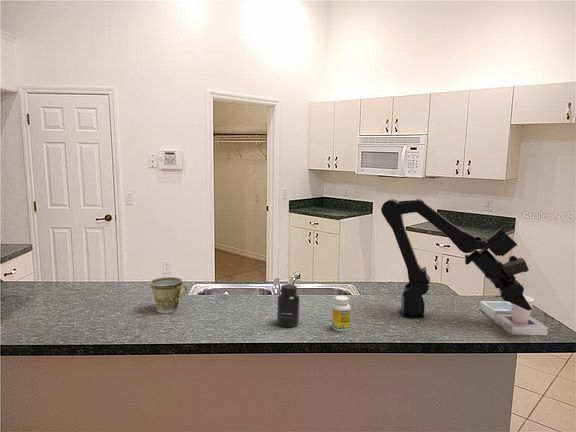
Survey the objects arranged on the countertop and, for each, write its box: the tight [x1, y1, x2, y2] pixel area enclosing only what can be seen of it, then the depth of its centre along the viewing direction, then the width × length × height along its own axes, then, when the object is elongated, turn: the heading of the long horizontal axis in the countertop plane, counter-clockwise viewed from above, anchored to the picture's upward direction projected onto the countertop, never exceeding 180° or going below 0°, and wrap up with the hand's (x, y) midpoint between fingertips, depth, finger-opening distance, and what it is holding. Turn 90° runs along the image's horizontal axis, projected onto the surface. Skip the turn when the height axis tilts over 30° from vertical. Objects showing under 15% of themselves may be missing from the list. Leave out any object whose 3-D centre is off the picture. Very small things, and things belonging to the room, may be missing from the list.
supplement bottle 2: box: [331, 295, 352, 332], centre depth 123 cm, size 5×5×10 cm
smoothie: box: [511, 283, 535, 325], centre depth 125 cm, size 6×6×14 cm
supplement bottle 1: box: [276, 283, 301, 329], centre depth 126 cm, size 7×7×12 cm
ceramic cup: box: [150, 276, 188, 315], centre depth 136 cm, size 13×10×10 cm
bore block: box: [493, 314, 549, 336], centre depth 126 cm, size 10×10×2 cm
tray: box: [479, 300, 512, 321], centre depth 137 cm, size 10×10×3 cm
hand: (526, 304), depth 125 cm, fingers open, 9 cm apart
